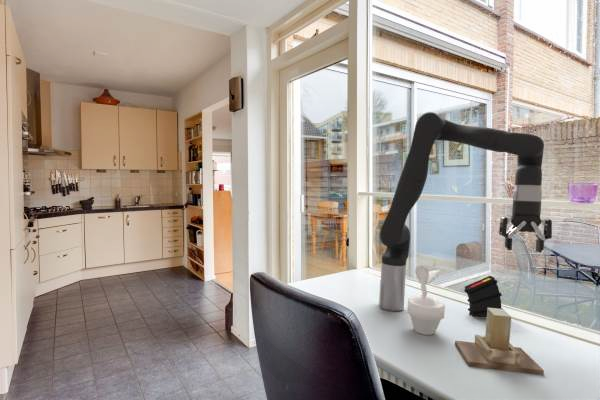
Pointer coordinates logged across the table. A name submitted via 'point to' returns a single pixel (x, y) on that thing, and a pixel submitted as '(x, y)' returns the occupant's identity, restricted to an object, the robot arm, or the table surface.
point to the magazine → (483, 296)
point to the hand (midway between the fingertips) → (523, 250)
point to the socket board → (497, 357)
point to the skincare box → (498, 329)
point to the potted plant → (425, 304)
